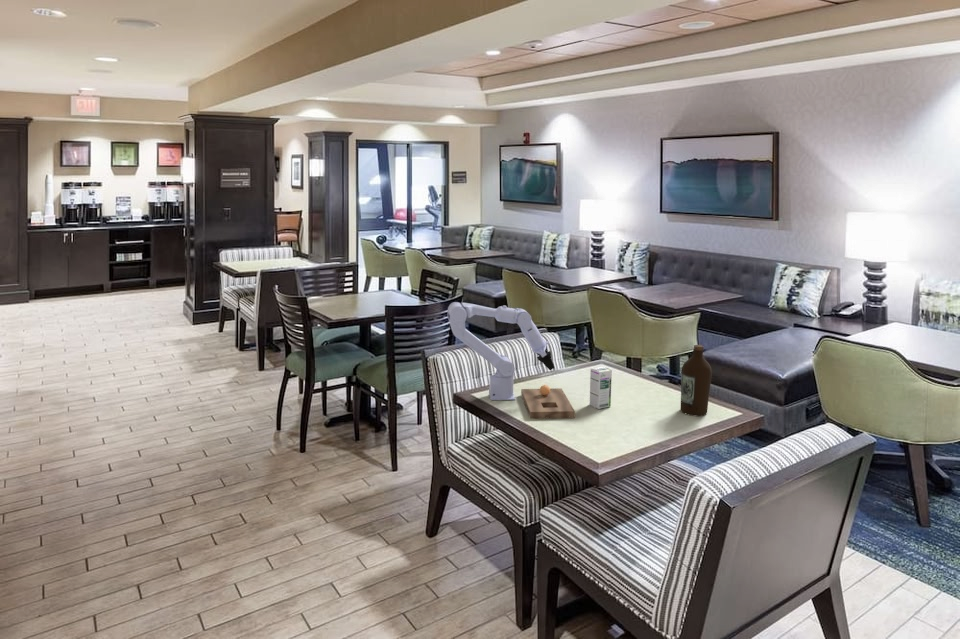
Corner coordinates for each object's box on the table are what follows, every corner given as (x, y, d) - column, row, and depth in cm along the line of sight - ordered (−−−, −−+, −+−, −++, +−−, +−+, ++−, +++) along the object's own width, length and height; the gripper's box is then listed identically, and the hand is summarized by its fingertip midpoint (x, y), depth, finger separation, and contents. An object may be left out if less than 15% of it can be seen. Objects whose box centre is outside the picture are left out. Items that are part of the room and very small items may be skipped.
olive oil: (694, 405, 255) (699, 341, 250) (715, 414, 246) (720, 347, 240) (672, 409, 251) (676, 343, 245) (692, 418, 241) (697, 350, 236)
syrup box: (598, 409, 250) (600, 371, 247) (588, 404, 255) (590, 367, 252) (610, 407, 253) (612, 369, 249) (601, 402, 258) (602, 365, 255)
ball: (540, 397, 256) (540, 387, 255) (538, 393, 260) (539, 383, 259) (550, 396, 256) (551, 386, 255) (549, 393, 260) (549, 383, 259)
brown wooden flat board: (530, 418, 240) (530, 412, 240) (521, 395, 266) (521, 389, 265) (574, 417, 241) (574, 411, 241) (561, 394, 267) (561, 388, 266)
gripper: (545, 337, 253) (562, 366, 256) (539, 326, 267) (555, 354, 270) (529, 346, 253) (546, 375, 257) (524, 335, 267) (540, 363, 271)
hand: (550, 365), depth 263 cm, fingers open, 7 cm apart
